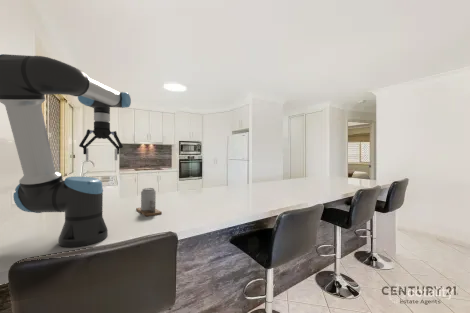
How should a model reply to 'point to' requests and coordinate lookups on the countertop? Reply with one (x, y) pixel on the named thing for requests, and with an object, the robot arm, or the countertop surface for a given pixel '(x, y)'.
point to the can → (147, 198)
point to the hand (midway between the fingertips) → (102, 160)
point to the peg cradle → (152, 210)
